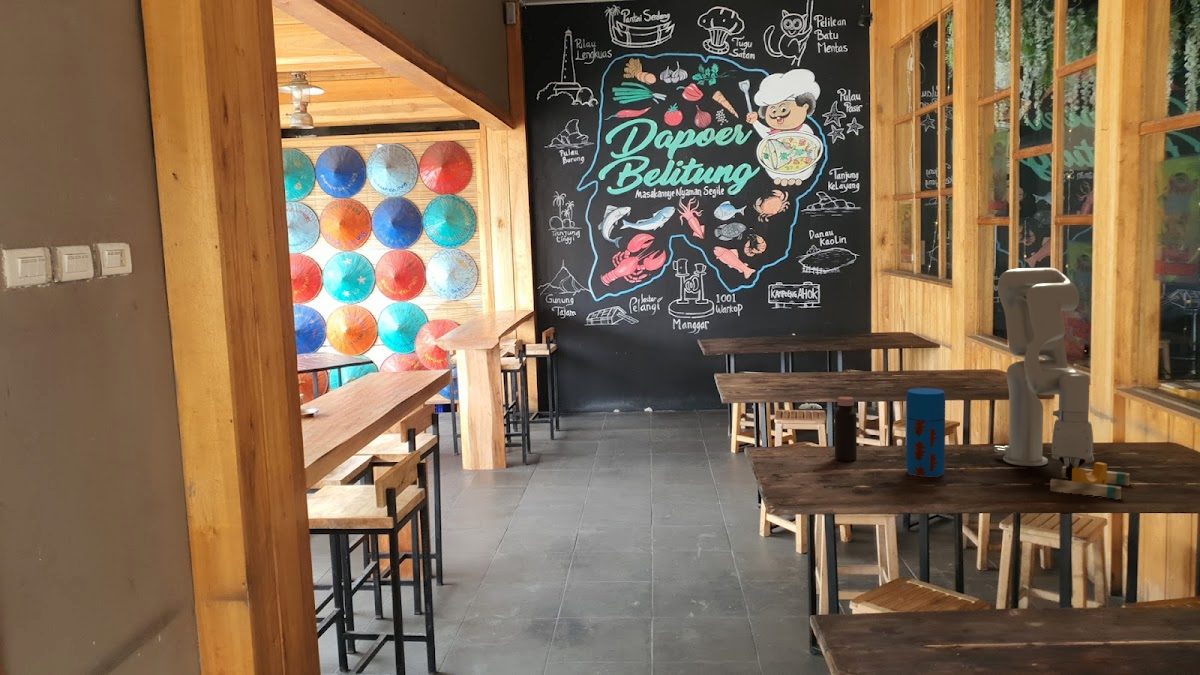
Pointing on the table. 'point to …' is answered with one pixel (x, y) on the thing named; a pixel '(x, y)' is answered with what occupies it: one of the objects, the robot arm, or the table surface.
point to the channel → (1092, 485)
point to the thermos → (926, 431)
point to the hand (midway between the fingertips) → (1072, 480)
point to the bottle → (845, 430)
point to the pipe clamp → (1091, 474)
